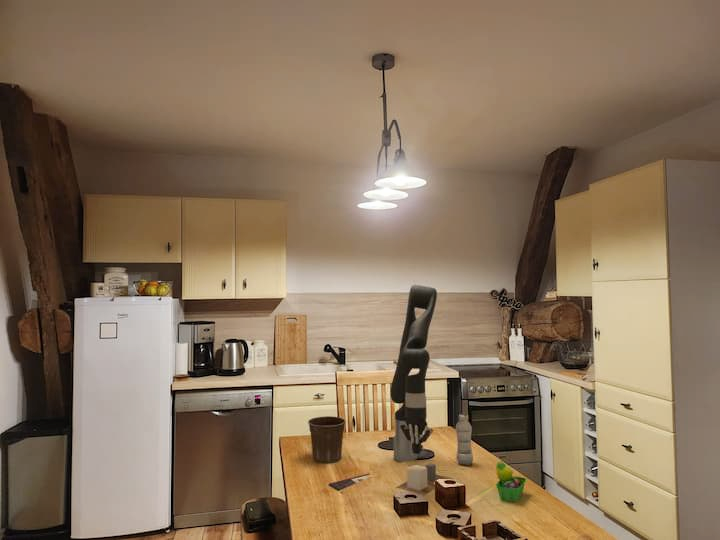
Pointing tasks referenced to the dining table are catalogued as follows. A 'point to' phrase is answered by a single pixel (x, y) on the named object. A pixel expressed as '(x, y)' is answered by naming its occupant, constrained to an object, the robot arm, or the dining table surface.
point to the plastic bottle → (464, 440)
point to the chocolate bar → (348, 482)
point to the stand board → (426, 490)
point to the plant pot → (326, 438)
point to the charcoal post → (431, 472)
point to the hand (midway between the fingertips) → (416, 453)
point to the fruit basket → (509, 483)
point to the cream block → (417, 477)
